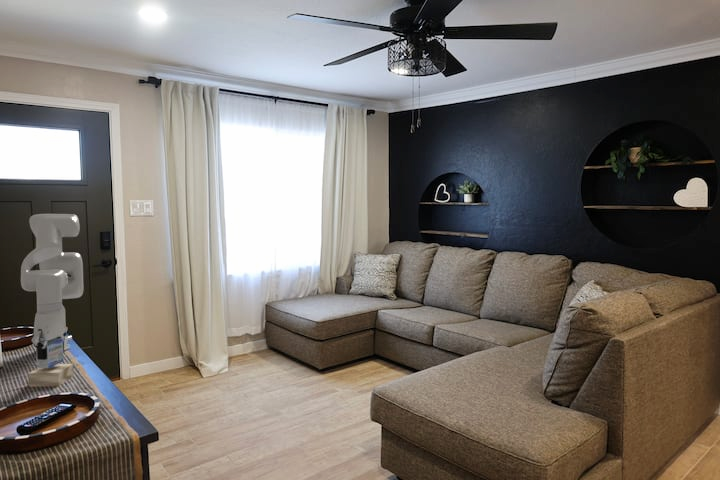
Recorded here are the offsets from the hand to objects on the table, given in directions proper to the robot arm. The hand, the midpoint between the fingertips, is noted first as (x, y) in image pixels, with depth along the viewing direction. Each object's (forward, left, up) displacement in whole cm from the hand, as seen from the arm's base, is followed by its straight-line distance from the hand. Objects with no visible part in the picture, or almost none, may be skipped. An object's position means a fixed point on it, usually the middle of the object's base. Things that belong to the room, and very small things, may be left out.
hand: (51, 355), depth 171 cm
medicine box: (0, 0, -4) cm, 4 cm away
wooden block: (0, 0, -10) cm, 10 cm away
